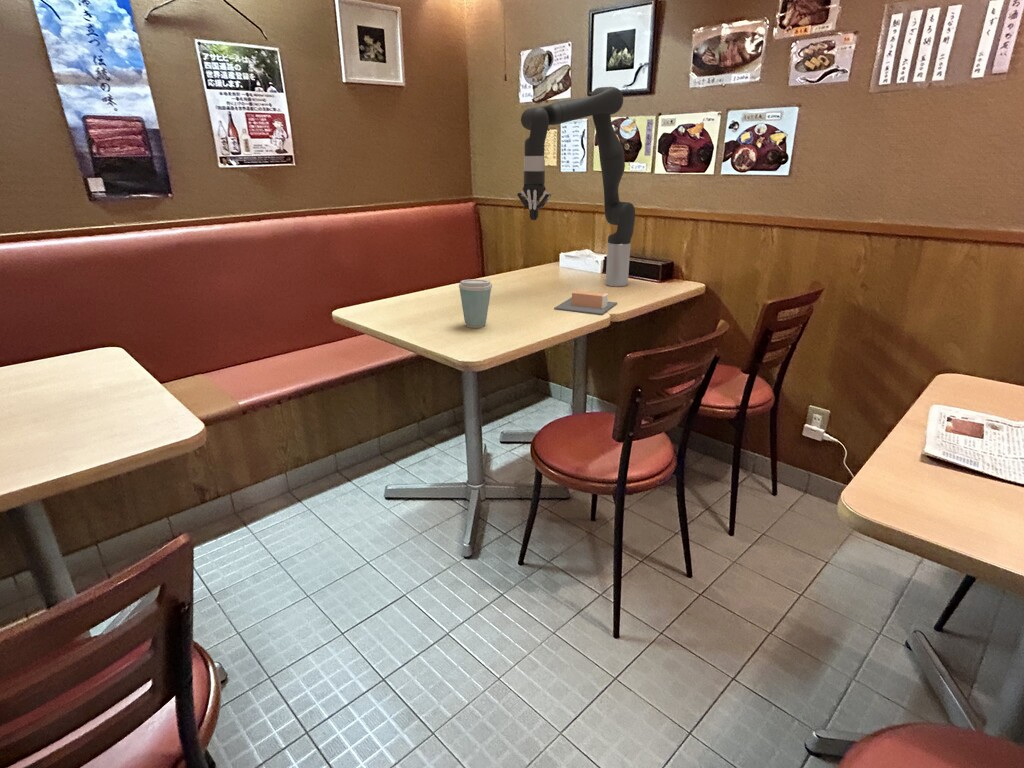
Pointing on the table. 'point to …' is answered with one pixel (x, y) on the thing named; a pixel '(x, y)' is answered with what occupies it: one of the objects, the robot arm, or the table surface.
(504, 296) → the table surface
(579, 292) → the terracotta block
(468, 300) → the disposable coffee cup
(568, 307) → the charcoal mat
